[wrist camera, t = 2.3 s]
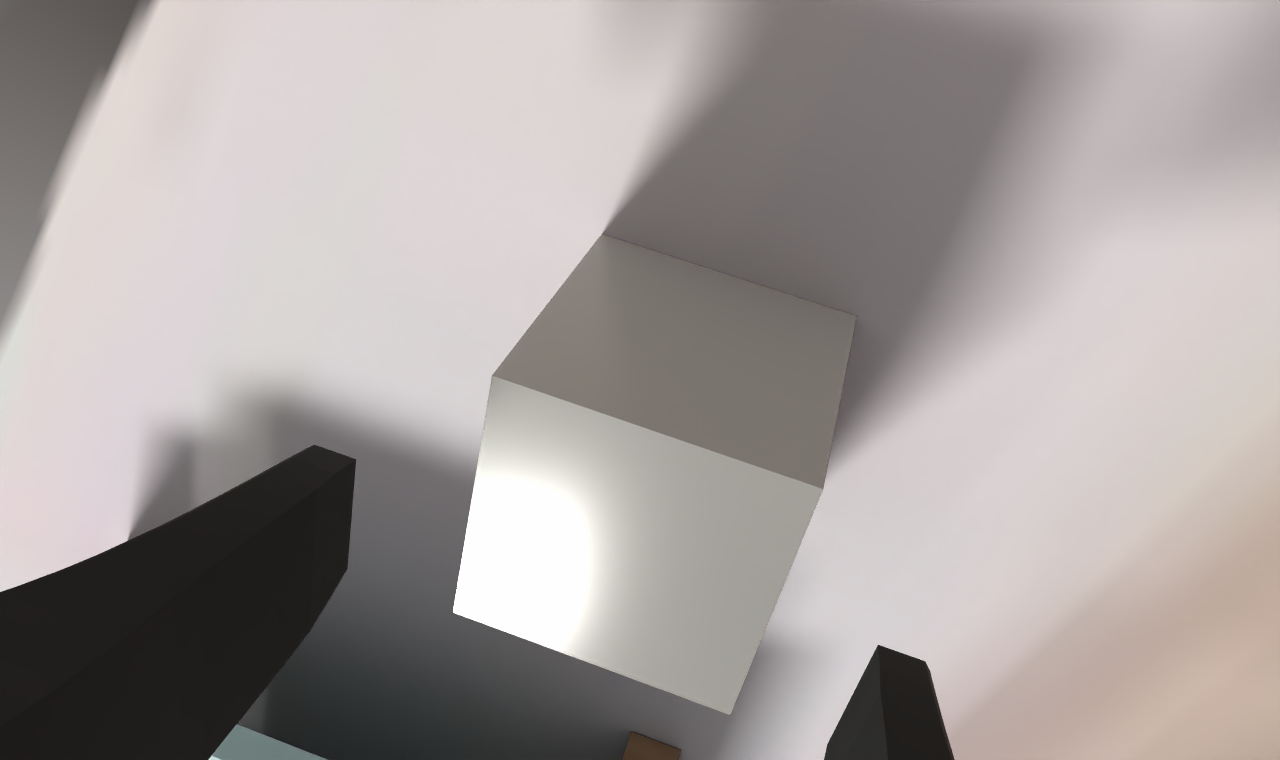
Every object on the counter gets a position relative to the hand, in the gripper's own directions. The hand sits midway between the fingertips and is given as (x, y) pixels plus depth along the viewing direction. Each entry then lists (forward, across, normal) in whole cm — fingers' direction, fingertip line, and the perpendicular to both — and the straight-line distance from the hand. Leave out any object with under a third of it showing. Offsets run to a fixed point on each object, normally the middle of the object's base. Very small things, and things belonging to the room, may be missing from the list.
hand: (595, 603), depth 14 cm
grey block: (+3, 0, 0) cm, 4 cm away
